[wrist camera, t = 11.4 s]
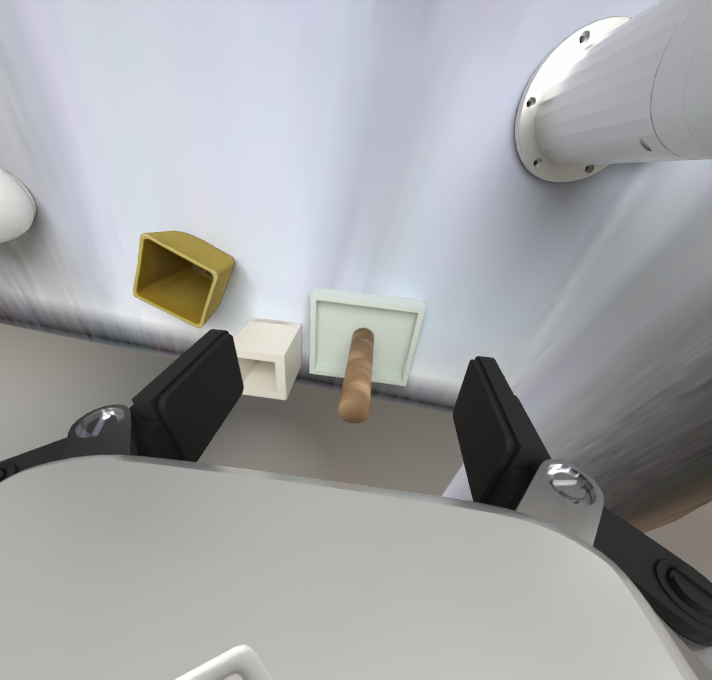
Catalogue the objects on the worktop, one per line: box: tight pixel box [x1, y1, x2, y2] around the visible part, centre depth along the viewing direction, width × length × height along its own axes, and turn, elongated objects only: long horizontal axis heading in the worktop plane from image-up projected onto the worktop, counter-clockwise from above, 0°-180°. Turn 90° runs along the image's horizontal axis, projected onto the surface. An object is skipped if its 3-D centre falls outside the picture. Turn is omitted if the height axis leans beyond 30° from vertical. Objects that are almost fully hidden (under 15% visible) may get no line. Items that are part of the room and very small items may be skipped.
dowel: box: [338, 328, 374, 423], centre depth 37 cm, size 3×3×16 cm
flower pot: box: [133, 231, 235, 328], centre depth 36 cm, size 9×9×9 cm
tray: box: [309, 287, 426, 386], centre depth 43 cm, size 16×14×3 cm
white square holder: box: [233, 318, 302, 400], centre depth 42 cm, size 8×8×9 cm
